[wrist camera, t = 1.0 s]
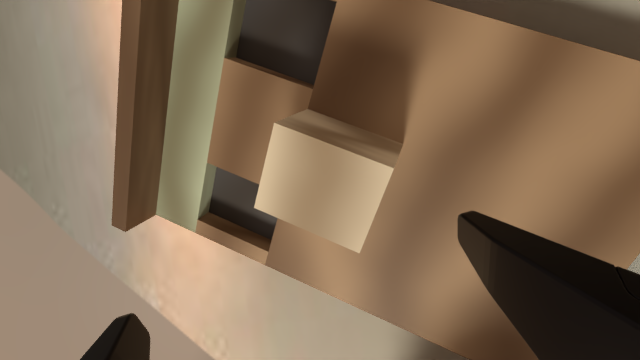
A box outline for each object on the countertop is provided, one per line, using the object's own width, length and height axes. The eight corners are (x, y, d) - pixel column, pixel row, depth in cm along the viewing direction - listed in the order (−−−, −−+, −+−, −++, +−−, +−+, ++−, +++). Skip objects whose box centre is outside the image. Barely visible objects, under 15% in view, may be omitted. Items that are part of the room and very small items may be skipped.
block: (403, 144, 17) (393, 168, 13) (374, 214, 18) (359, 253, 15) (307, 108, 18) (274, 122, 14) (288, 179, 19) (253, 207, 16)
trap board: (733, 93, 14) (837, 106, 10) (524, 365, 20) (543, 432, 17) (188, -66, 18) (126, -96, 14) (159, 200, 24) (111, 225, 21)
